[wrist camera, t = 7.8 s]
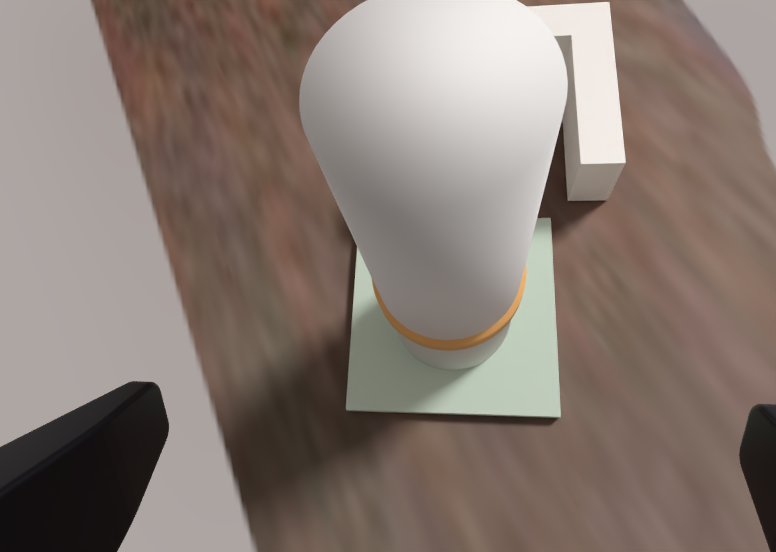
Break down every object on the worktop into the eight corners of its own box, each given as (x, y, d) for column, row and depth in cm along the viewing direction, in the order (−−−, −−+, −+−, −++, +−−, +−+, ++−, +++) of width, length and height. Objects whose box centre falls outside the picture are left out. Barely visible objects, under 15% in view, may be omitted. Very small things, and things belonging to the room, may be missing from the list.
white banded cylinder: (538, 338, 22) (637, 128, 9) (424, 396, 22) (359, 265, 9) (477, 235, 24) (487, -64, 11) (370, 288, 24) (252, 47, 11)
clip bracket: (607, 200, 24) (625, 163, 21) (398, 203, 25) (389, 168, 23) (594, 52, 27) (609, 1, 24) (404, 61, 28) (397, 14, 25)
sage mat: (559, 418, 22) (560, 416, 21) (347, 410, 23) (345, 409, 22) (549, 221, 24) (550, 217, 24) (360, 223, 25) (359, 219, 25)
